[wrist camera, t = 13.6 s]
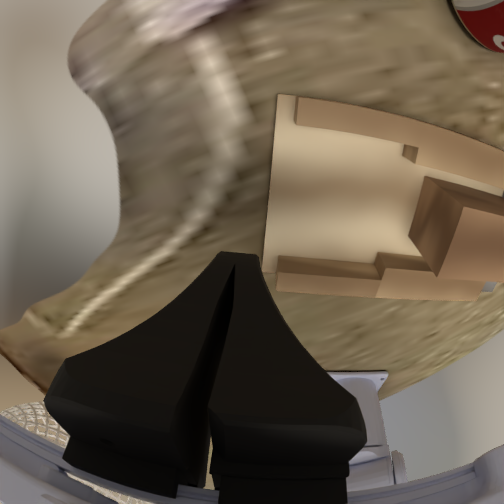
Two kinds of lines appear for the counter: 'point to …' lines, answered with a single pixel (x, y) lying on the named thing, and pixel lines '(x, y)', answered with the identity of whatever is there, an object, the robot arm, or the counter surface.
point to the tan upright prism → (459, 231)
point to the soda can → (483, 21)
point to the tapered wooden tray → (362, 199)
